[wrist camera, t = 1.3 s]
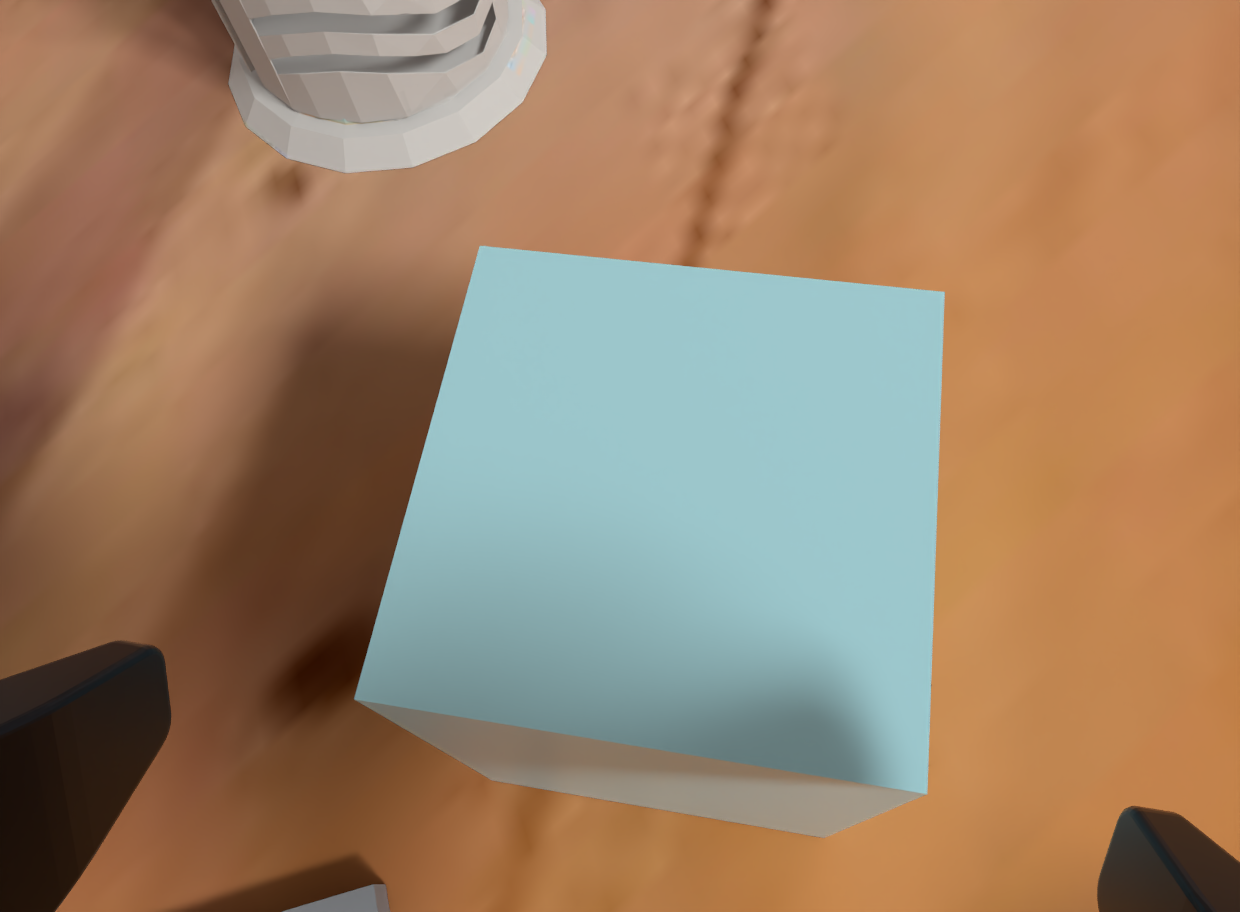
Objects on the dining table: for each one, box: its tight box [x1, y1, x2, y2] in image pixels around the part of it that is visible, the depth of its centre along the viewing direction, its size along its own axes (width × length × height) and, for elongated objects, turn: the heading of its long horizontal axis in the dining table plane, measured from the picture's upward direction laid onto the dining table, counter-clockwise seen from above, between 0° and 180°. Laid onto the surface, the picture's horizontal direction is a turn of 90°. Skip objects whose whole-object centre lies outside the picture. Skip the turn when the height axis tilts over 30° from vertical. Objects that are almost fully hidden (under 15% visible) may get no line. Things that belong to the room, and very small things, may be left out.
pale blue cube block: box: [354, 246, 945, 838], centre depth 17 cm, size 7×7×9 cm
